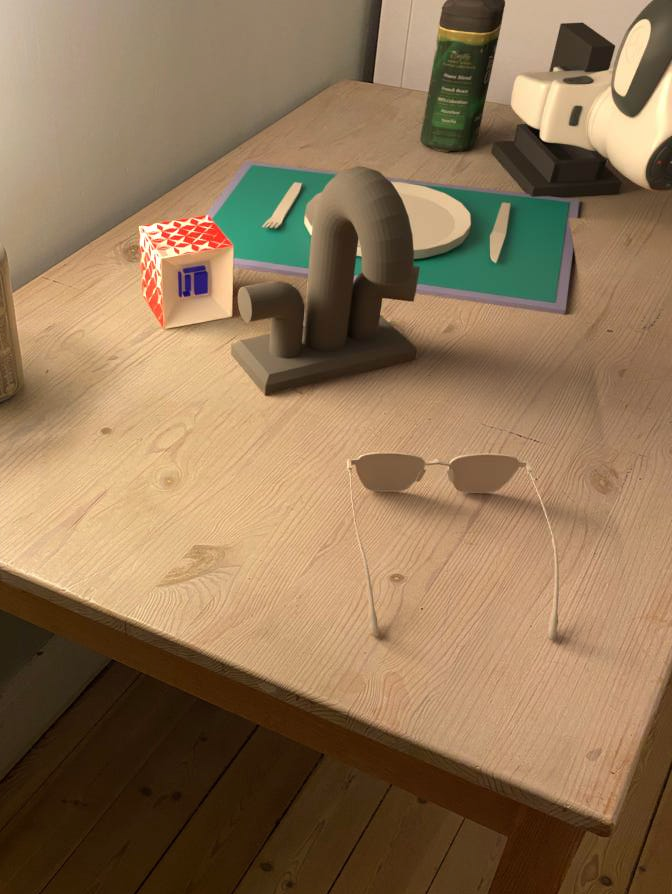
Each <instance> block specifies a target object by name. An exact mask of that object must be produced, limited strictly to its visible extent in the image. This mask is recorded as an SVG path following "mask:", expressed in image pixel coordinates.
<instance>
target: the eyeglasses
mask: <svg viewBox="0 0 672 894" xmlns="http://www.w3.org/2000/svg"><path fill="white" fill-rule="evenodd" d="M433 465H434V466H435V465H439V466H447V477H448V480H449V482H450V483H451V484H452V485H453V487H454V488H455V490H456V491H458V492H461V493H466V494H489V493H495V492H497V491H500V490H501V489H502V488H503V487H504V486H506V485H507V484H508V483H509V482H510V481H511V480H512V478H513V477H514V476H516V473H518V471H519V468H525V471H526V474H527V476H530V478H531V482H532V483H533V486H534V488H535V490H536V493H537V495H538V498H539V501H540V504H541V506H542V509H543V513H544V515H545V519H546V522H547V524H548V528H549V531H550V535H551V542H552V549H553V557H554V558H553V559H554V561H553V562H554V586H553V597H552V610H551V612H550V613H551V614H550V618H549V621H548V624H547V637H548V640H550V641H554V640H556V639H557V635H558V626H559V614H558V609H559V588H560V586H559V583H560V581H559V580H560V573H559V558H558V557H559V556H558V548H557V543H556V538H555V537H554V533H553V529H552V526H551V522H550V519H549V516H548V514H547V510H546V508H545V505H544V501H543V498H542V496H541V494H540V492H539V489H538V486H537V484H536V482H535V480H534V477H533V475H532V473H533V467H532V465H531V463H530V460H519V458H517V457H516V456H514V455H511V454H505V453H490V452H487V453H486V452H484V453H483V452H481V453H469V454H462V455H458V456H456V457H454V458H452V459H451V460H450V461H449V462H448V461H446V460H442V459H439V458H435V459H432V460H429V461H425V460H424V458H423V457H421V456H419V455H417V454H413V453H406V452H399V451H397V452H396V451H376V452H368V453H364V454H361V455H359V456H358V457H356V458H355V457H353V458H352V457H349V458H346V468H347V473H348V474H349V485H350V498H351V507H352V515H353V521H354V528H355V532H356V540H357V543H358V544H357V545H358V547H359V550H360V554H361V557H362V563H363V568H364V575H365V581H366V590H367V599H368V614H367V625H368V627H369V632H370V635H371V636H372V637H374V638H375V637H378V636H379V635H380V629H379V625H378V616H377V613H376V609H375V602H374V593H373V588H372V582H371V577H370V571H369V567H368V562H367V561H368V560H367V557H366V553H365V550H364V547H363V544H362V541H361V537H360V534H359V531H358V527H357V519H356V513H355V512H356V511H355V505H354V497H353V484H352V470H353V466H354V469H355V472H356V474H357V476H358V479H359V481H360V483H361V484H362V486H363V487H364V488H365V489H367V490H369V491H372V492H378V493H393V492H395V493H396V492H397V493H398V492H403V491H406V490H408V489H409V488H410V487H412V486H413V485H414V484H415V483H416V482H417V483H420V482H421V480H422V479H423V478H424V476H425V473H426V469H425V467H426V466H433Z"/></svg>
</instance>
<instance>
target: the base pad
mask: <svg viewBox="0 0 672 894" xmlns="http://www.w3.org/2000/svg"><path fill="white" fill-rule="evenodd" d="M490 153H491V154H492V156H493V157H494V158H495V159H496V160H497V161H498V163H499V164H500V165H501V166H502V167H503V168H504V170H505V171H506V172H507V173H508V175H509V176H510V177H511V178H512V179H513V180H514V181H515V182H516V184H517V185H518V186H519V187H520V188H521V189H522V191H523V193H526V194H529V195H530V196H531V197H537V196H551V197H560V198H572V197H573V198H574V197H588V196H590V197H591V196H607V195H619V194H620V192H621V188H622V186H623V181H621V179H619V178H618V177H617V176H616V175H615V174H614V173H613V172H612V171H611V170H610V169H609V168H608V167H607V166H606V165H607V158H606V157H604V156H602V155H601V154H600V153H599V152H598V151H597V150H596V151H591V150H588V149H585V148H582V147H578V146H574V145H565V144H556V143H549V142H545V141H543V140H542V139H541V138H540V130H539V129H536V128H533V127H531V126H530V125H528V124H527V123H518V124H516V129H515V134H514V137H513V140H503V141H501V140H500V141H493V143H492V146H491V151H490Z"/></svg>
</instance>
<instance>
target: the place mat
mask: <svg viewBox="0 0 672 894" xmlns="http://www.w3.org/2000/svg"><path fill="white" fill-rule="evenodd" d="M339 172H340V171H337V170H335V171H334V170H326V169H318V168H312V167H311V168H310V167H309V168H308V167H300V166H293V165H283V164H275V163H268V162H258V161H249V160H246V161H244V163H243V164H242V165H241V167H239V169H238V171H236V173H235V174H234V176H233V177H232V179H231V180H230V181H229V183H227V186H225V188H224V189H223V191H222V192H221V194H220V195H219V196H218V197H217V199H216V200H215V201H214V203H213V204H212V206H210V208H209V209H208V211H207V212H206V213H205V215H204V216H207V215H209V216H210V218H211V219H212V220H213V221H214V223H215V224H216V225H217V226H218V228H219V229H220V230H221V231H222V232H223V234H224V235H225V236H226V237H227V239H228V240H229V241H230V242H231V243H232V245H233V246H234V256H233V268H234V267H237V268H236V269H241V270H249V271H255V272H263V273H269V272H270V274H277V275H282V276H283V275H284V276H291V277H297V278H304V279H308V273H309V261H310V248H311V236H312V226H313V217H314V213H315V210H316V206H317V202H318V200H319V198H320V196H321V194H322V192H323V190H324V188H325V186H326V185H327V184H328V183H329V182H330V181H331V180H332V179H333V178H334V177H335V176H336V175H337V174H338V173H339ZM384 177H385V178H387V179H388V180H389V181H390V182H391V183H392V184H393V186H394V187H395V189H396V190H397V192H398V194H399V195H400V197H401V198H402V200H403V203H404V206H405V208H406V211H407V214H408V216H409V221H410V226H411V230H412V235H413V249H414V262H413V266H420V269H419V276H418V282H417V288H416V293H415V295H416V294H418V295H422V296H423V295H424V296H431V297H436V298H437V297H438V298H443V299H444V298H445V299H451V300H458V301H466V302H473V303H480V304H485V305H487V304H488V305H494V306H500V307H501V306H502V307H506V308H507V307H508V308H515V309H521V310H529V311H535V312H544V313H549V314H555V315H556V314H557V315H562V316H563V315H564V316H565V313H566V309H567V303H568V295H569V285H570V277H571V271H572V263H573V254H574V240H573V235H572V234H573V233H572V228H571V222H570V218H571V219H572V218H573V219H577V218H578V216H579V208H580V199H576V198H570V197H551V196H537V197H531V196H530V195H529V194H526V193H525V192H517V191H507V190H499V189H492V188H491V189H490V188H481V187H473V186H464V185H458V184H457V185H455V184H447V183H439V182H431V181H422V180H414V179H404V178H397V177H387V176H384ZM361 272H362V254H361V246H360V242H359V239H358V247H357V255H356V264H355V272H354V281H355V279H356V278H357V276H358V275H359V274H360V273H361ZM354 281H353V282H354Z"/></svg>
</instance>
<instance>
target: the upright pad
mask: <svg viewBox="0 0 672 894" xmlns="http://www.w3.org/2000/svg"><path fill="white" fill-rule="evenodd" d="M615 50H616V44H614V43H613V42H611V41H610V40H608V39H607V38H605V37H604V36H603V35H601V34H600V33H598V32H597V31H595V30H594V28H592V27H590V26H589V25H587V24H586V23H584V22H563V23H562V22H561V23H560V25H559V29H558V33H557V37H556V42H555V45H554V50H553V54H552V57H551V63H550V66H549V70H548V72H553V69H554V67H567V68H568V69H570V71H579V70H583V71H585V72H598V71H607V70H609V69H611V64H612V60H613V57H614V52H615Z"/></svg>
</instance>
